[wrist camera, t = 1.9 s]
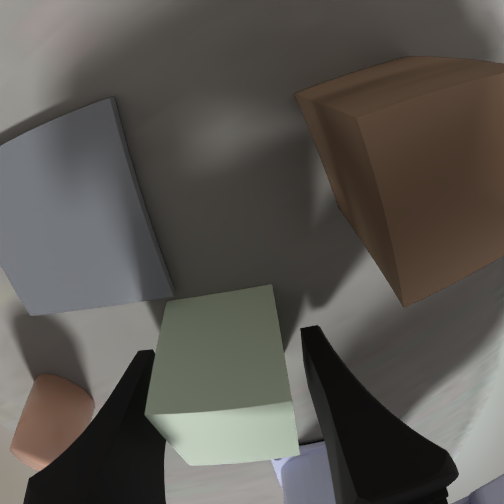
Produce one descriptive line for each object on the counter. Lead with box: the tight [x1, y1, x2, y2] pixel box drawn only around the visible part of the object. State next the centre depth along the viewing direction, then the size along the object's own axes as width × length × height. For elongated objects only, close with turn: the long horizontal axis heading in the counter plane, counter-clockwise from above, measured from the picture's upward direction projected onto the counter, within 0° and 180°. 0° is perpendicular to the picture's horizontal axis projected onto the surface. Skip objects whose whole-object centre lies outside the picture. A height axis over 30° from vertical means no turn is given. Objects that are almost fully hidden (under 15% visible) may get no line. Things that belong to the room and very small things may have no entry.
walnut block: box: [294, 56, 504, 308], centre depth 7 cm, size 4×4×5 cm
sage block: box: [145, 284, 300, 466], centre depth 11 cm, size 4×4×5 cm
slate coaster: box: [0, 97, 175, 316], centre depth 10 cm, size 7×7×1 cm
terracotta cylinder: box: [10, 374, 95, 471], centre depth 13 cm, size 4×4×5 cm
